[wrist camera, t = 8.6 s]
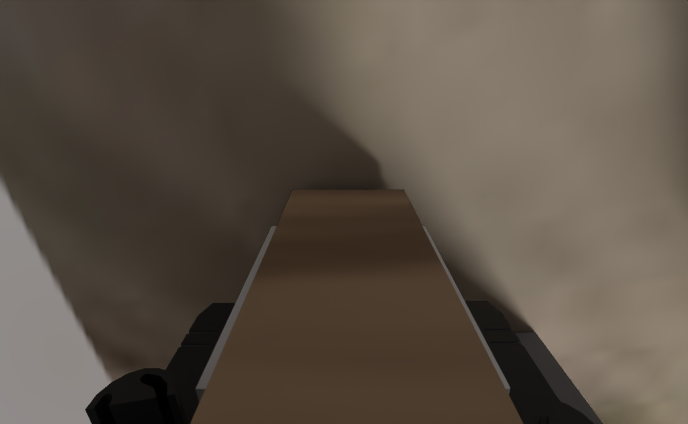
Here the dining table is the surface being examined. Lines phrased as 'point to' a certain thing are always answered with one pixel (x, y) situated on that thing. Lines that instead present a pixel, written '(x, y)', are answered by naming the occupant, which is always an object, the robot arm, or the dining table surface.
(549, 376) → the grey cabinet
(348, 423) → the tan block on post
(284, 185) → the dining table surface
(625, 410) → the dining table surface
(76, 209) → the dining table surface
